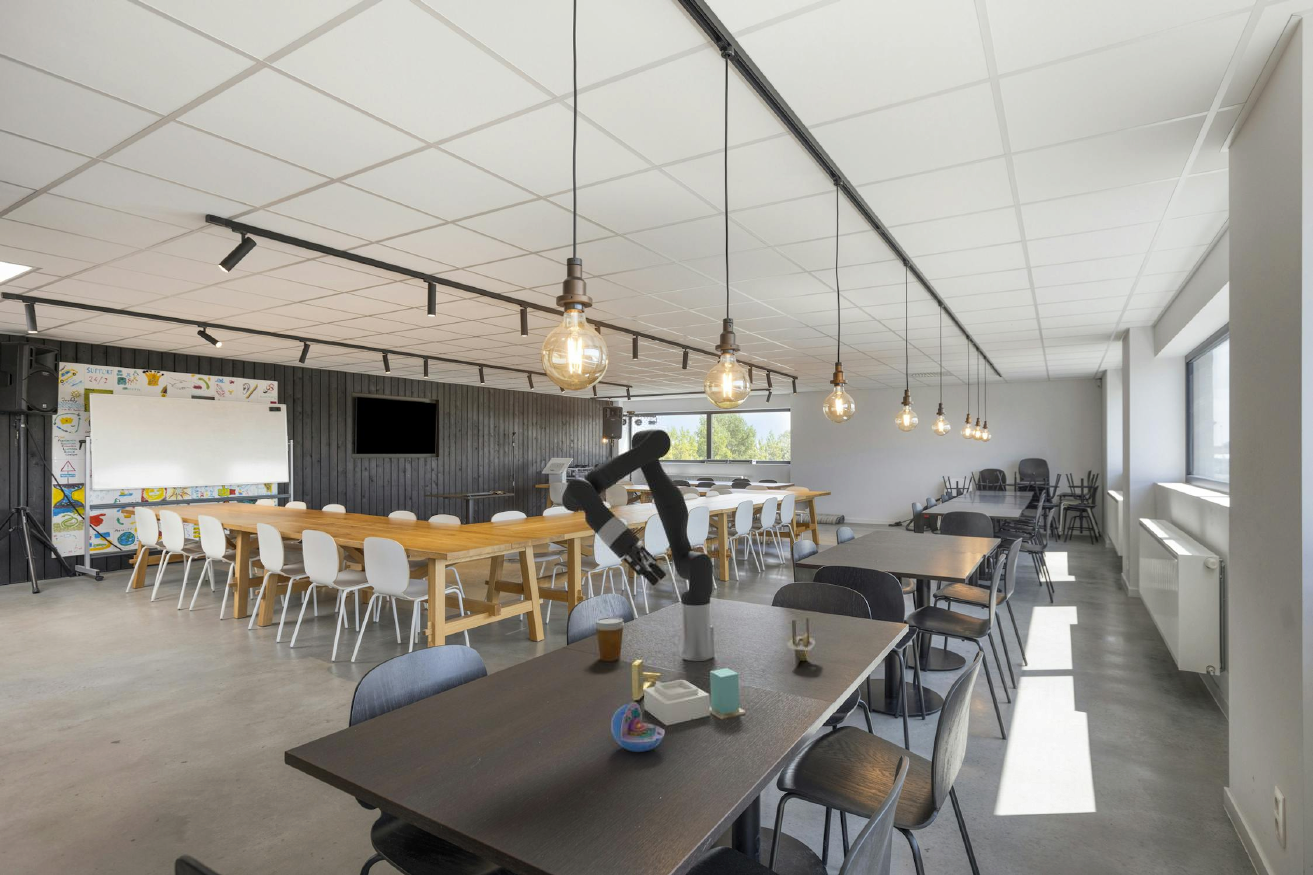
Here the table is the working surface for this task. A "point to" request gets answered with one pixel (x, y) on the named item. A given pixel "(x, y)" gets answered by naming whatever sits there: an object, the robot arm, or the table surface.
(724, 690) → the teal upright prism
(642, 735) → the cell model
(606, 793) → the table surface
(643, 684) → the key socket
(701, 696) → the housing
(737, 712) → the pad
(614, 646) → the disposable coffee cup
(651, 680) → the key lever
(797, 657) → the two-pronged ringed stand
